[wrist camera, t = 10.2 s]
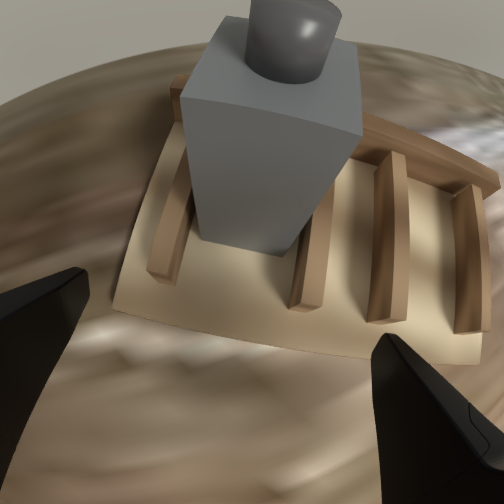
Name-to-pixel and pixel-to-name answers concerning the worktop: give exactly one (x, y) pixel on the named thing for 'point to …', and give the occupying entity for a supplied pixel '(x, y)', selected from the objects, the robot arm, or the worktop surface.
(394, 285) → the wooden dish rack
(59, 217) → the worktop surface
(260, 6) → the grey knobbed block
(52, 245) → the worktop surface
